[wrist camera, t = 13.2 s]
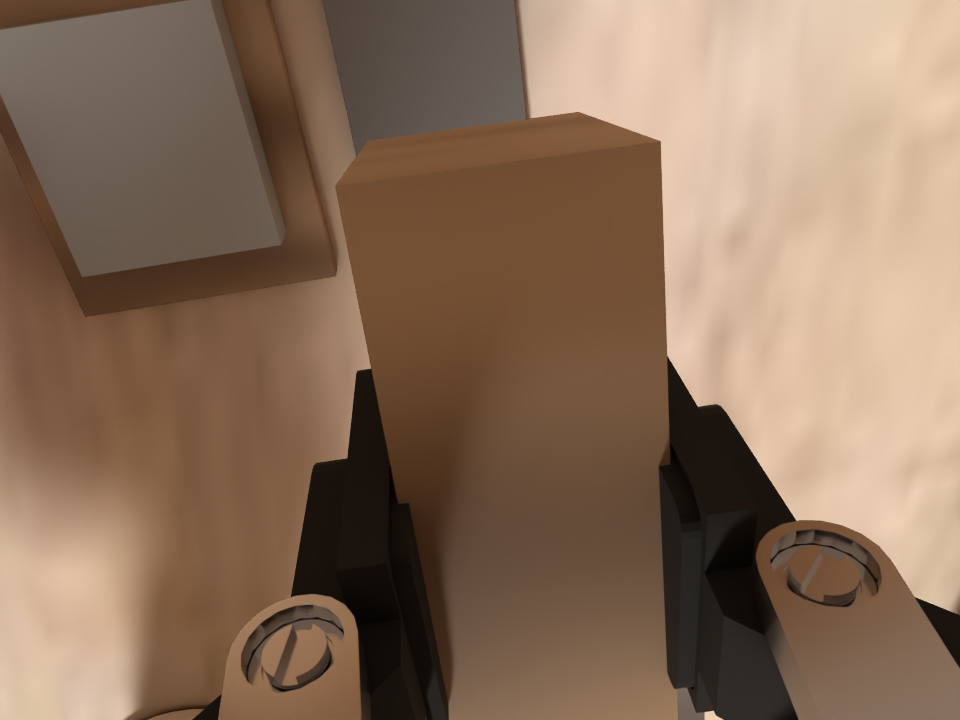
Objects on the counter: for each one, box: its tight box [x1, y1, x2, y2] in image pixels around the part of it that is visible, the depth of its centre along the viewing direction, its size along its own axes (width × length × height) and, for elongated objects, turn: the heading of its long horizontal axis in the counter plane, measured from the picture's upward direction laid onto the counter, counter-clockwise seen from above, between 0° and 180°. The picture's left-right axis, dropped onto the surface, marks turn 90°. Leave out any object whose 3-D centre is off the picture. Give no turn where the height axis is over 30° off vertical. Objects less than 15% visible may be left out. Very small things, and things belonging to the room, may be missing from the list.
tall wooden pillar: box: [335, 112, 704, 720], centre depth 11 cm, size 14×6×4 cm, turn 6°
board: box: [0, 0, 337, 317], centre depth 29 cm, size 15×11×1 cm
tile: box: [0, 0, 286, 277], centre depth 28 cm, size 2×8×9 cm
